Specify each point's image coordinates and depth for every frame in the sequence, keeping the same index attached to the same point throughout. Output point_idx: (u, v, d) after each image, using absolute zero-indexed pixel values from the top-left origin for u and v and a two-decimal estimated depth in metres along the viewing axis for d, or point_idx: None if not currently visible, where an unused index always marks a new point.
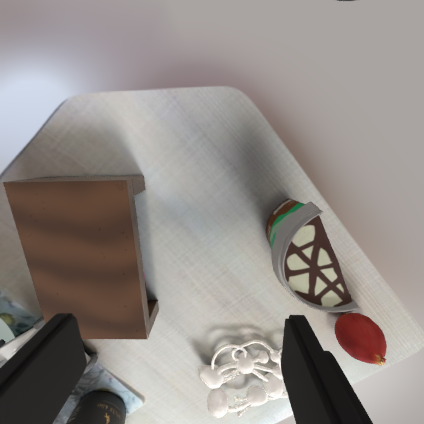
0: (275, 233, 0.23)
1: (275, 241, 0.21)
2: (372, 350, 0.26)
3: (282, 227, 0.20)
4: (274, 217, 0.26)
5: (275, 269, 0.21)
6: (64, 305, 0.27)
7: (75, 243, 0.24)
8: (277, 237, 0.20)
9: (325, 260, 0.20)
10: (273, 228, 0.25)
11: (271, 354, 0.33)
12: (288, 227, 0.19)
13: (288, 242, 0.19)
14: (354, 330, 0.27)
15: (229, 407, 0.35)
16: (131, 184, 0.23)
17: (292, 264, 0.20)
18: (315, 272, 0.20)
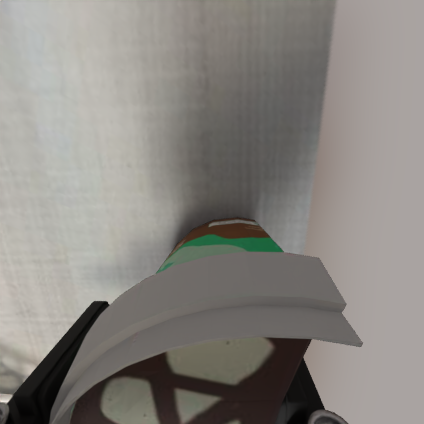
0: (169, 265, 0.08)
1: (127, 295, 0.06)
2: None
3: (177, 270, 0.05)
4: (204, 231, 0.11)
5: None
6: None
7: None
8: (140, 288, 0.05)
9: None
10: (180, 250, 0.10)
11: None
12: (189, 288, 0.05)
13: (136, 351, 0.04)
14: None
15: None
16: None
17: (119, 402, 0.05)
18: None
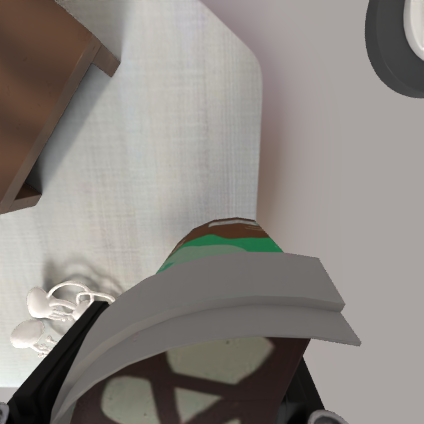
0: (169, 265, 0.08)
1: (127, 295, 0.06)
2: None
3: (177, 270, 0.05)
4: (204, 231, 0.11)
5: None
6: None
7: None
8: (140, 288, 0.05)
9: None
10: (180, 250, 0.10)
11: None
12: (189, 288, 0.05)
13: (137, 351, 0.04)
14: None
15: (36, 344, 0.31)
16: (97, 48, 0.19)
17: (119, 401, 0.05)
18: None
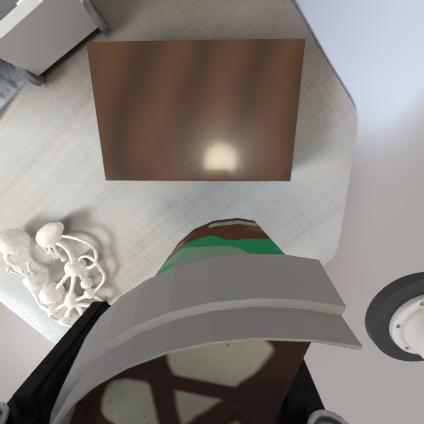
0: (169, 266, 0.08)
1: (127, 297, 0.06)
2: None
3: (177, 272, 0.05)
4: (204, 232, 0.11)
5: None
6: (142, 79, 0.21)
7: (227, 114, 0.22)
8: (140, 290, 0.05)
9: None
10: (180, 251, 0.10)
11: (91, 290, 0.33)
12: (189, 291, 0.05)
13: (137, 354, 0.04)
14: None
15: (9, 253, 0.31)
16: None
17: (119, 403, 0.05)
18: None
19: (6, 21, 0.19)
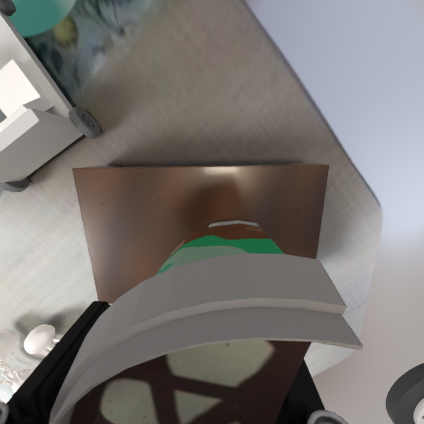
0: (169, 266, 0.08)
1: (127, 296, 0.06)
2: None
3: (177, 272, 0.05)
4: (204, 231, 0.11)
5: None
6: (139, 205, 0.18)
7: None
8: (140, 290, 0.05)
9: None
10: (180, 251, 0.10)
11: None
12: (189, 290, 0.05)
13: (136, 354, 0.04)
14: None
15: None
16: None
17: (119, 404, 0.05)
18: None
19: None
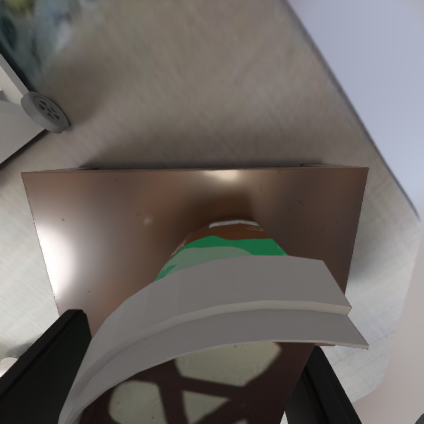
0: (172, 267, 0.08)
1: (133, 299, 0.06)
2: None
3: (183, 275, 0.05)
4: (205, 232, 0.11)
5: None
6: (112, 221, 0.14)
7: None
8: (146, 293, 0.05)
9: None
10: (182, 252, 0.10)
11: None
12: (197, 293, 0.05)
13: (147, 357, 0.04)
14: None
15: None
16: None
17: (127, 405, 0.05)
18: None
19: None
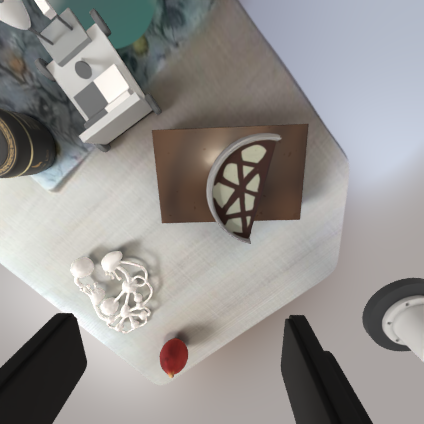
0: None
1: (228, 146, 0.21)
2: (175, 368, 0.39)
3: (242, 138, 0.21)
4: None
5: (211, 170, 0.22)
6: (191, 153, 0.29)
7: None
8: (232, 143, 0.21)
9: (254, 187, 0.21)
10: None
11: (141, 303, 0.41)
12: (247, 137, 0.20)
13: (239, 145, 0.20)
14: (182, 354, 0.41)
15: None
16: None
17: (228, 172, 0.21)
18: (239, 193, 0.22)
19: (100, 122, 0.27)
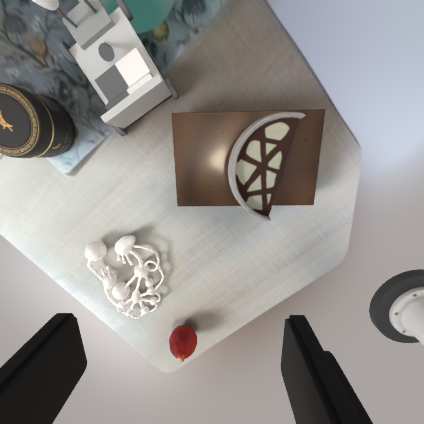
0: None
1: (251, 124, 0.22)
2: (185, 353, 0.40)
3: (265, 116, 0.21)
4: None
5: (234, 147, 0.22)
6: (209, 136, 0.30)
7: None
8: (255, 121, 0.22)
9: (275, 164, 0.22)
10: None
11: (152, 288, 0.42)
12: (271, 115, 0.21)
13: (263, 121, 0.20)
14: (192, 339, 0.41)
15: (92, 260, 0.40)
16: None
17: (251, 149, 0.22)
18: (261, 170, 0.22)
19: (122, 103, 0.28)
